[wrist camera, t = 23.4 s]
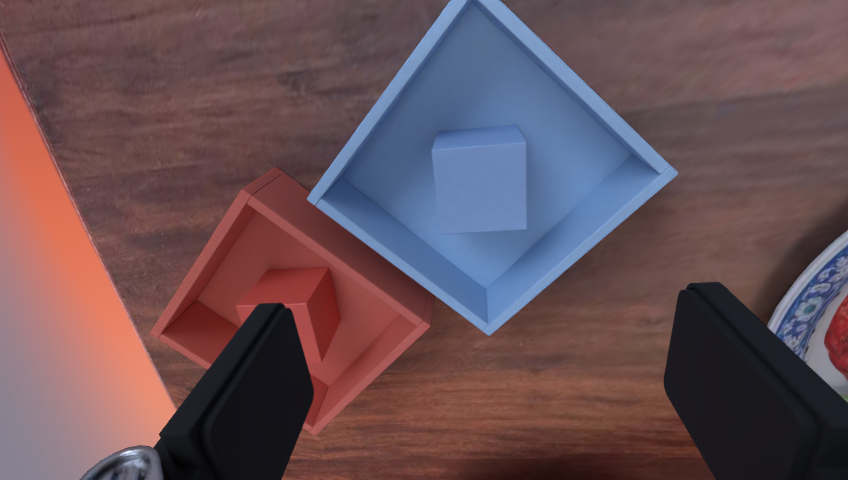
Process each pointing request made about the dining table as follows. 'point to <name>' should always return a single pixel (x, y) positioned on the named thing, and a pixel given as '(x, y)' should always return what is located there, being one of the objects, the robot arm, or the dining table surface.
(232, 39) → the dining table surface
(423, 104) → the blue bin
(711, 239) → the dining table surface
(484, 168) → the blue block
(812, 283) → the ceramic plate
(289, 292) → the red block
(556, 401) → the dining table surface
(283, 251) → the red bin
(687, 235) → the dining table surface
